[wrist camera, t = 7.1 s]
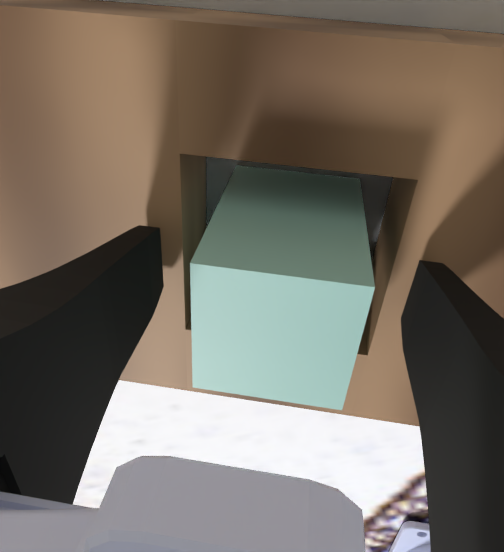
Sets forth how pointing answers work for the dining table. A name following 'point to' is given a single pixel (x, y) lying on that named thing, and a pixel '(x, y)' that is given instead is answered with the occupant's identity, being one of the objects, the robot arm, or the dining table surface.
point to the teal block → (281, 287)
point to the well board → (248, 152)
